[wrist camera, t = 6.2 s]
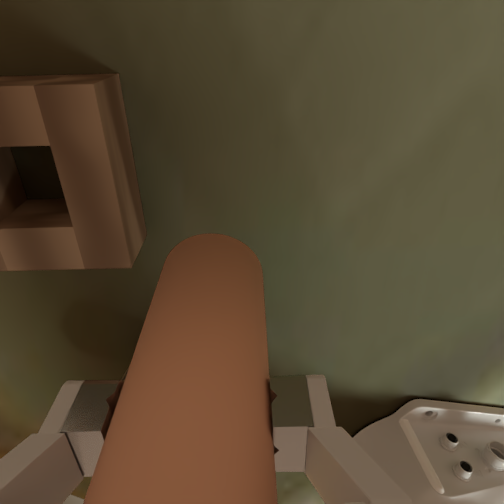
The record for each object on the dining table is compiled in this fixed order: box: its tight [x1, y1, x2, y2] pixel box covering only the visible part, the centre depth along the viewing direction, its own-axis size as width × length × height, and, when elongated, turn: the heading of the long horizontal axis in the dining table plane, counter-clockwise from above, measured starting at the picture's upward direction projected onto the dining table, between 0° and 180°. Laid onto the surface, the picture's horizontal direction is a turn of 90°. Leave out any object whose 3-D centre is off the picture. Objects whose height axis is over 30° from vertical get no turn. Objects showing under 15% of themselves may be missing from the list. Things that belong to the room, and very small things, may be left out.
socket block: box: [0, 73, 147, 271], centre depth 27 cm, size 12×12×5 cm
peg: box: [83, 233, 277, 504], centre depth 11 cm, size 4×4×12 cm
